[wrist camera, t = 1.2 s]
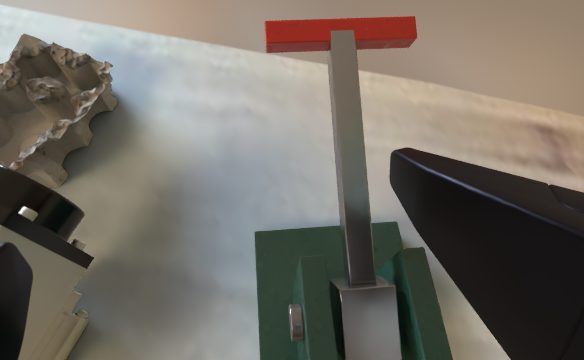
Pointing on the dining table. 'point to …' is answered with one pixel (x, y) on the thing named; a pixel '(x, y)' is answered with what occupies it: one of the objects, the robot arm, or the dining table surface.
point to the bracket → (317, 302)
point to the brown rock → (49, 107)
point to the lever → (352, 177)
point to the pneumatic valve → (45, 262)
